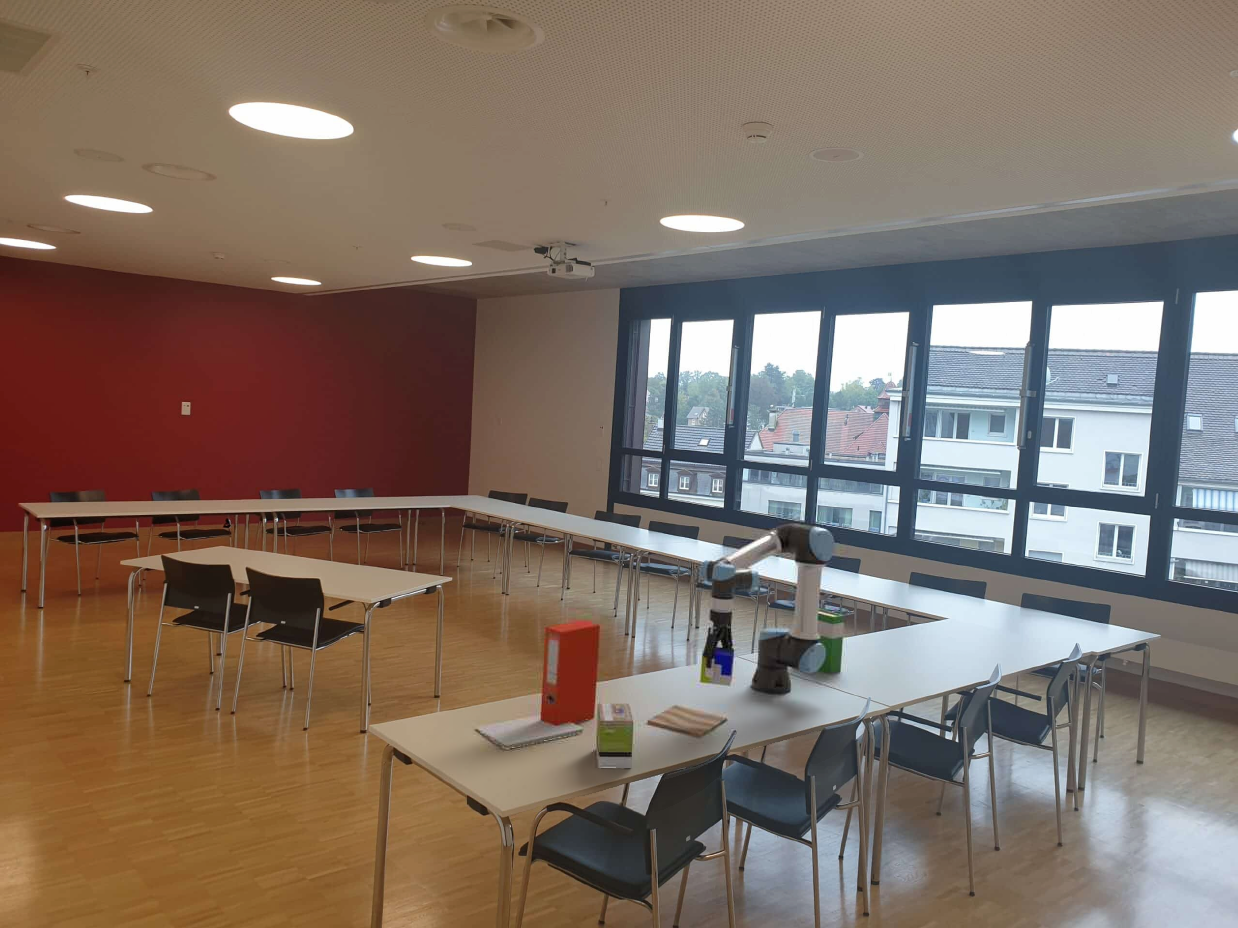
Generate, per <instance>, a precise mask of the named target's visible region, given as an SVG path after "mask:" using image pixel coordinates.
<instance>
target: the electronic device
mask: <svg viewBox="0 0 1238 928" xmlns="http://www.w3.org/2000/svg"><path fill="white" fill-rule="evenodd" d="M540 719H541V714H537V715H533V716H527V717H521V718H517V719H511V720H507V721H502V722H496V723H492V724H487V725H481V726H477V727H475V730H476V729H477V730H479V731H480V732H482V733H484V735H486V736H487V737H489V738H491V739H493V740H494V741H495V742H497V743H498V744H500V745H501V746H503V747H504V748H506V749H507V748H511V747H518V746H523V745H527V744H532V743H536V742H540V741H544V740H549V739H554V738H558V737H564V736H569V735H573V734H578V733H582V732H583V733H584V728H583V727H582V726H580V725H577V724H576V723H575V724H573V723H571V722H568V723H564V724H561V725H557V726H555V725H552V724H549V723H547V722H544V721H541V720H540ZM477 730H476V731H477ZM480 732H479V733H480ZM583 733H582V734H583ZM484 735H483V736H484ZM578 735H579V734H578ZM486 736H485V737H486ZM573 736H574V735H573ZM487 737H486V738H487ZM569 737H570V736H569ZM489 738H488V739H489ZM564 738H565V737H564ZM532 745H533V744H532ZM523 747H524V746H523Z"/></svg>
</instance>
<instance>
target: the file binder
mask: <svg viewBox="0 0 1238 928" xmlns="http://www.w3.org/2000/svg"><path fill="white" fill-rule="evenodd" d="M600 628H601V624H598V623H595V622H593V621H588V620H585V619H583V620H578V621H571V622H567V623H562V624H556V625H549V626H546V627H545V634H544V635H545V637H544V651H543V652H544V653H543V654H544V655H543V668H542V669H543V670H542V687H541V703H540V704H541V705H540V715H541V719H540V720H541V721H544V722H547V723H549V724H552V725H555V726H557V725H561V724H564V723H568V722H571V723H575V724H577V723H576V722H578V723H580V721H582V722H584V721H583V720H585V721H587V720H586V719H588V720H591V719H590V718H592V719H594V718H595V713H596V699H597V698H596V696H597V681H598V680H597V678H598V664H599V647H600V645H599V644H600V633H601V629H600Z"/></svg>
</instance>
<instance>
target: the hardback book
mask: <svg viewBox="0 0 1238 928" xmlns="http://www.w3.org/2000/svg"><path fill="white" fill-rule="evenodd" d="M844 630H845V615H844V614H842V613H836V612H833V611H828V610H824V609H821V608H819V609H818V621H817V633H818V634H819V635H820V643H821V644H822V645H824V647H825V649H826V656H825V660H824V662H823V664H822V666H821V667H820V668H819V669H818V670H817V671H816V672H821V673H824V674H827V675H833V674H837V673H841V671H842V670H841V668H842V658H843V657H842V656H843V642H844Z"/></svg>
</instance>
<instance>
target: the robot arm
mask: <svg viewBox="0 0 1238 928" xmlns="http://www.w3.org/2000/svg"><path fill="white" fill-rule="evenodd" d="M835 546H836V545H835V539H834V536H833V534H832V533H831V532H830V530H828V529H825V528H822V527H819V526H812V525H805V524H799V523H786V524H783V525H780V526H776V527H773V528H772V529H770V530H767V531H766V532H764V533H763V534H762V535H761V537H760V538H758V539H756V540H754V541H752V542H749V544H747V545H744V546H743V547H740V548H739V549H737V550H734V551H732V552H731V553H729V554H727V555H724V556H723V557H721V558H719V559H716V560H715V561H713V560H704V561H702V563H700V566H699V568H698V575H699V578H700V579H701V580H702V581H705V582H707V583H709V584H711V594H710V598H709V601H710V606H709V607H710V610H709V618H708V619H709V621H710V622H712V624H713V625H712V627H710V626H709V627H708V628H707V629H708V630H707V636H706V640H705V645H704V647H705V649H704V648H703V650H704V654H703V657H705V658H706V668H705V677H709V678H713V673H714V659H715V658H713V657H714V654H715V651H716V648H717V647H718V644H719V642H720V643H721V646H722V648H731V649H734V648H733V646H734V645H733V636H732V635H733V634H732V620H733V612H732V611H733V607H734V595H735V592H742V591H750V590H753V589H756V588H757V587H758V585H759V583H760V574H759V572H758V570H756V569H755V568H754V567H752V566H754V565H756V564H758V563H759V562H761V561H763V560H765V559H767V558H769V557H771V556H773V557H776V556H778V555H781V554H789V555H794V562H795V563H796V565H797V566H798V569H797V580H796V592H795V593H796V594H795V604H794V605H795V606H794V616H793V629H791V630H790V629H789V628H784V627H768V628H763V629H761V630H760V632H759V637H758V646H757V647H758V648H757V649H758V651H757V666H756V669H755V671H754V673H753V677H752V678H751V687H752V689H753V690H756V691H758V692H762V693H766V694H774V695H777V694H779V695H782V694H786V693H790V692H791V691H792V682H791V678H790V674H789V670H788V669H789V668H791V669H795V670H797V671H800V672H803V673H804V672H805V673H807V674H813V673H815V672H818V671H817V670H818V669H819V668H820V667H821V666H822V664H823V662H824V660H825V656H826V649H825V647H824V645H822V644H821V643H820V635H819V634H818V633H817V621H818V609H820V607H819V605H820V595H821V584H822V583H821V582H822V580H821V579H822V571H823V568H824V567H825V566H826V565H827V563H828V562H827V561H830V560H831V559H832V557H833V555H834V553H835V549H836V548H835Z"/></svg>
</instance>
